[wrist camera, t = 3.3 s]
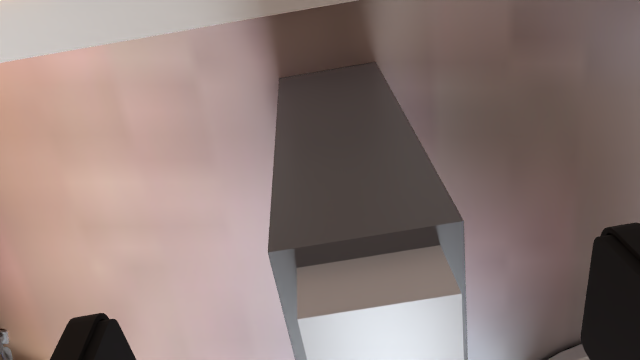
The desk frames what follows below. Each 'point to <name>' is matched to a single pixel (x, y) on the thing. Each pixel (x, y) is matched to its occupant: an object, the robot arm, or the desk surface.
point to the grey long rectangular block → (362, 226)
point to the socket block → (120, 20)
